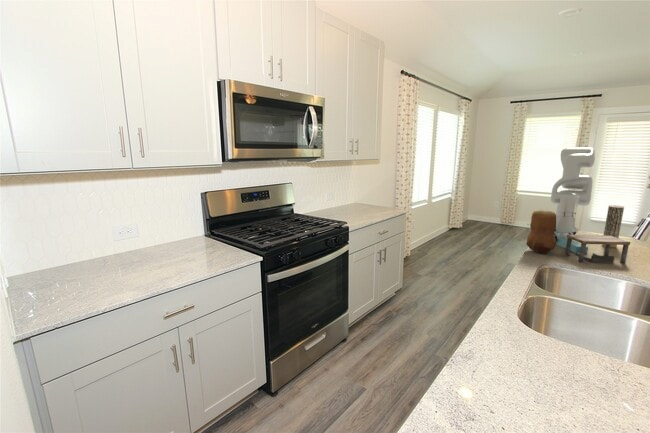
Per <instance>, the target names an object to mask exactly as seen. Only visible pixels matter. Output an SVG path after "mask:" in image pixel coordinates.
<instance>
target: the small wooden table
mask: <svg viewBox="0 0 650 433" xmlns="http://www.w3.org/2000/svg"><path fill="white" fill-rule="evenodd" d="M572 240H573V241H575V242H578V243H580V244H581V249H580V253H575V256H577V257H578V261H579V263H584V261H588V262H590V263H593V264H594V263H597V264H614V260H615V256H614V255H610V249H611V247H610V245H617V246H619V245H620V246H622V251H621V256H620V259H619V263H620V264H624V265H625V264H626V261H627V256H628V252H629V246H630V245H631V241H628V240H625V239H622V238H616V237H613V236H605V235H604V234H603V235H601V234H600V235H599V234H598V235H597V234H593V235H592V234H575V235H567V244H566V249H565V251H564V256H567V257H569V256H570V254H571V251H570V248H571V242H572ZM602 244H606V245H605V246H604V252H603V255H600V254H598V253H595V252H592V255H591V258H590V257H588V256H587V255H586V254H585V249H586V246H587V245H602Z"/></svg>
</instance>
